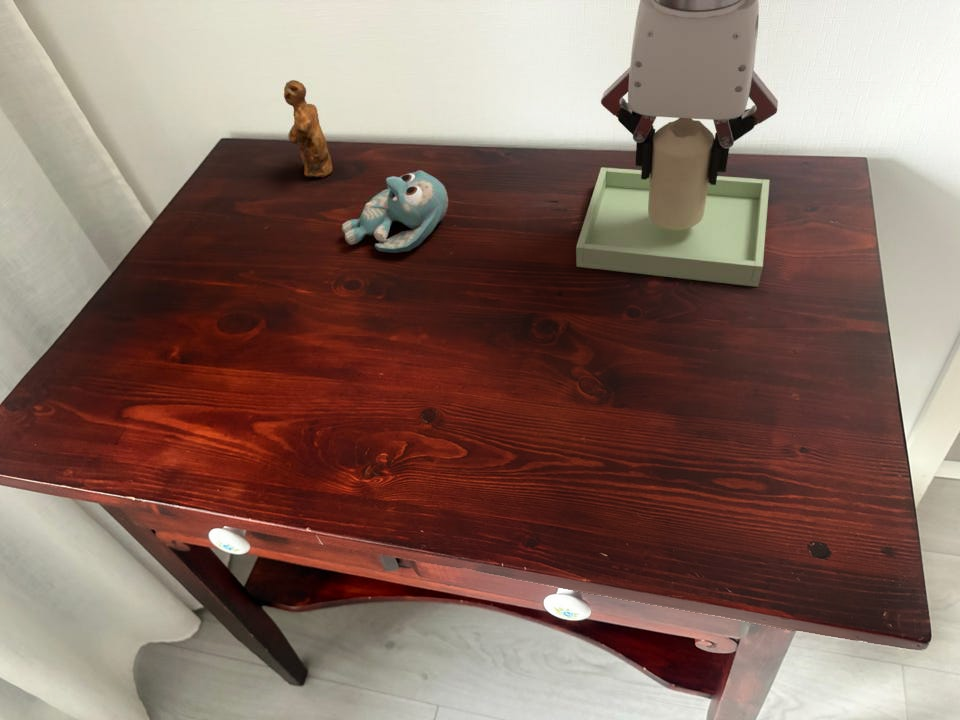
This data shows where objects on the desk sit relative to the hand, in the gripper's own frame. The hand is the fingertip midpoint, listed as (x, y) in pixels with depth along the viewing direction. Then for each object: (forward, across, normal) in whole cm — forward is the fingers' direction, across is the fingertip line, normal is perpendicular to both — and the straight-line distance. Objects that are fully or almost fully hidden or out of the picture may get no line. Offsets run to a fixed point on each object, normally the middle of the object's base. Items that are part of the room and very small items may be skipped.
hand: (679, 172), depth 72 cm
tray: (+7, 0, 0) cm, 7 cm away
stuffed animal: (+8, +29, +4) cm, 30 cm away
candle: (+5, 0, 0) cm, 5 cm away
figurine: (+8, +43, -5) cm, 44 cm away
